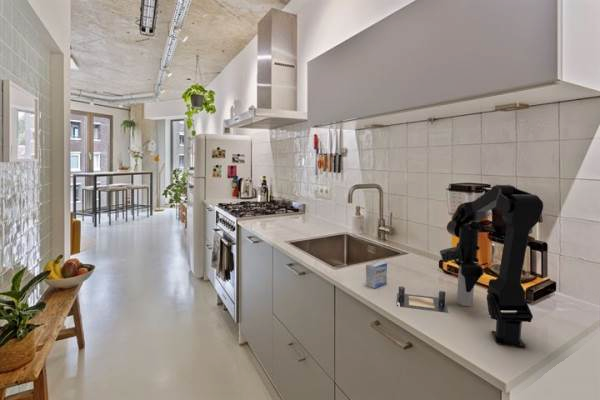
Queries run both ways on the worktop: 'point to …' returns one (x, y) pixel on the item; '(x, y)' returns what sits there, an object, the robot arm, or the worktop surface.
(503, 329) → the robot arm
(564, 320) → the worktop surface
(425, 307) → the post gate
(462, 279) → the beverage can
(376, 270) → the medicine box
